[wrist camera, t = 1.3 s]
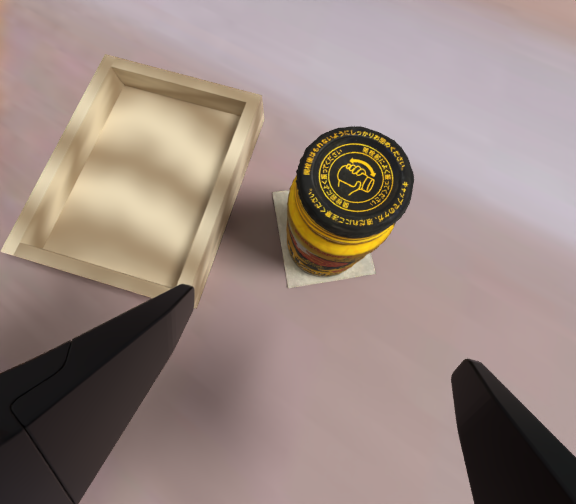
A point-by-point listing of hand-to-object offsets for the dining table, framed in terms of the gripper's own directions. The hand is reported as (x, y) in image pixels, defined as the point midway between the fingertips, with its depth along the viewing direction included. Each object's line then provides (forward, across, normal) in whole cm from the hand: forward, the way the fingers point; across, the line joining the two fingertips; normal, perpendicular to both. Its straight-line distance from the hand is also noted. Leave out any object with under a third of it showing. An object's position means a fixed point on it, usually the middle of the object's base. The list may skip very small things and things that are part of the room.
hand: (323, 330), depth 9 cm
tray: (+15, +15, +4) cm, 22 cm away
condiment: (+15, 0, +4) cm, 16 cm away
